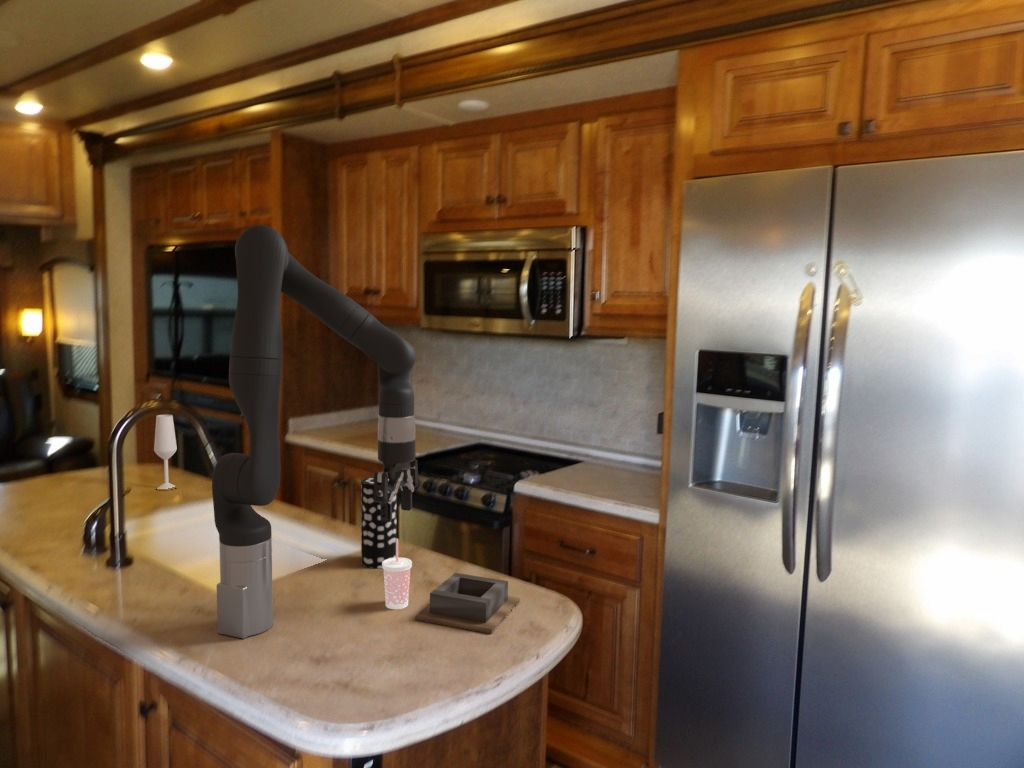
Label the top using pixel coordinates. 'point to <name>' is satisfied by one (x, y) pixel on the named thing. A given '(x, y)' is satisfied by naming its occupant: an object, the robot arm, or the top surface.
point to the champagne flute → (165, 443)
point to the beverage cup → (396, 581)
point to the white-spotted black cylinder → (376, 528)
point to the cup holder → (469, 603)
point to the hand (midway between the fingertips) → (396, 515)
